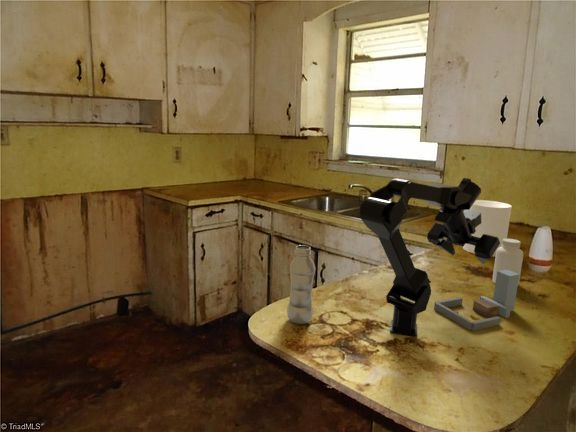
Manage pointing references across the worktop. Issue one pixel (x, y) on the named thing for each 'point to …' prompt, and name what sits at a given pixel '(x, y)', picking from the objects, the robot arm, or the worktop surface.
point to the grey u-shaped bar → (476, 325)
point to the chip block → (485, 308)
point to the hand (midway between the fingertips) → (468, 258)
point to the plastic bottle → (301, 286)
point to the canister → (491, 221)
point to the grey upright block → (505, 292)
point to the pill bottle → (508, 257)
